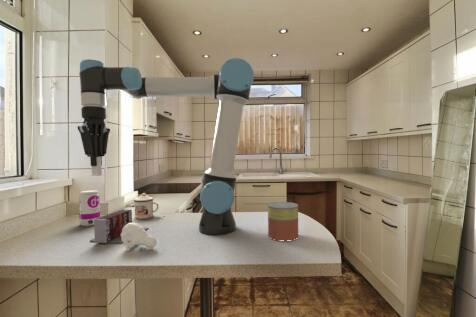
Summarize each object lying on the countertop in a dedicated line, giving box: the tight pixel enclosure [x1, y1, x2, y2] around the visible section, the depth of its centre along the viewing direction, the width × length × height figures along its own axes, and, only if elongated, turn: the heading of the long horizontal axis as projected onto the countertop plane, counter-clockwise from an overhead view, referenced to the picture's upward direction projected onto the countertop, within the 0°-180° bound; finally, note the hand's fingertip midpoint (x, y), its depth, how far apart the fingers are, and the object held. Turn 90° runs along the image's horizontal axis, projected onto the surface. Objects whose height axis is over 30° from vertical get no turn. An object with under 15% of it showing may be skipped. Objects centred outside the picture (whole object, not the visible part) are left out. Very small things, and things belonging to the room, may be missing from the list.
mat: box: [89, 226, 149, 245], centre depth 105 cm, size 13×18×1 cm
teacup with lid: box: [133, 192, 160, 220], centre depth 134 cm, size 12×9×12 cm
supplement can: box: [78, 189, 101, 227], centre depth 122 cm, size 8×8×15 cm
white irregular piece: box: [121, 222, 157, 252], centre depth 90 cm, size 6×8×12 cm
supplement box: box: [93, 209, 133, 244], centre depth 102 cm, size 9×5×16 cm
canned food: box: [267, 201, 299, 241], centre depth 100 cm, size 11×11×12 cm
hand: (96, 175), depth 93 cm, fingers closed
